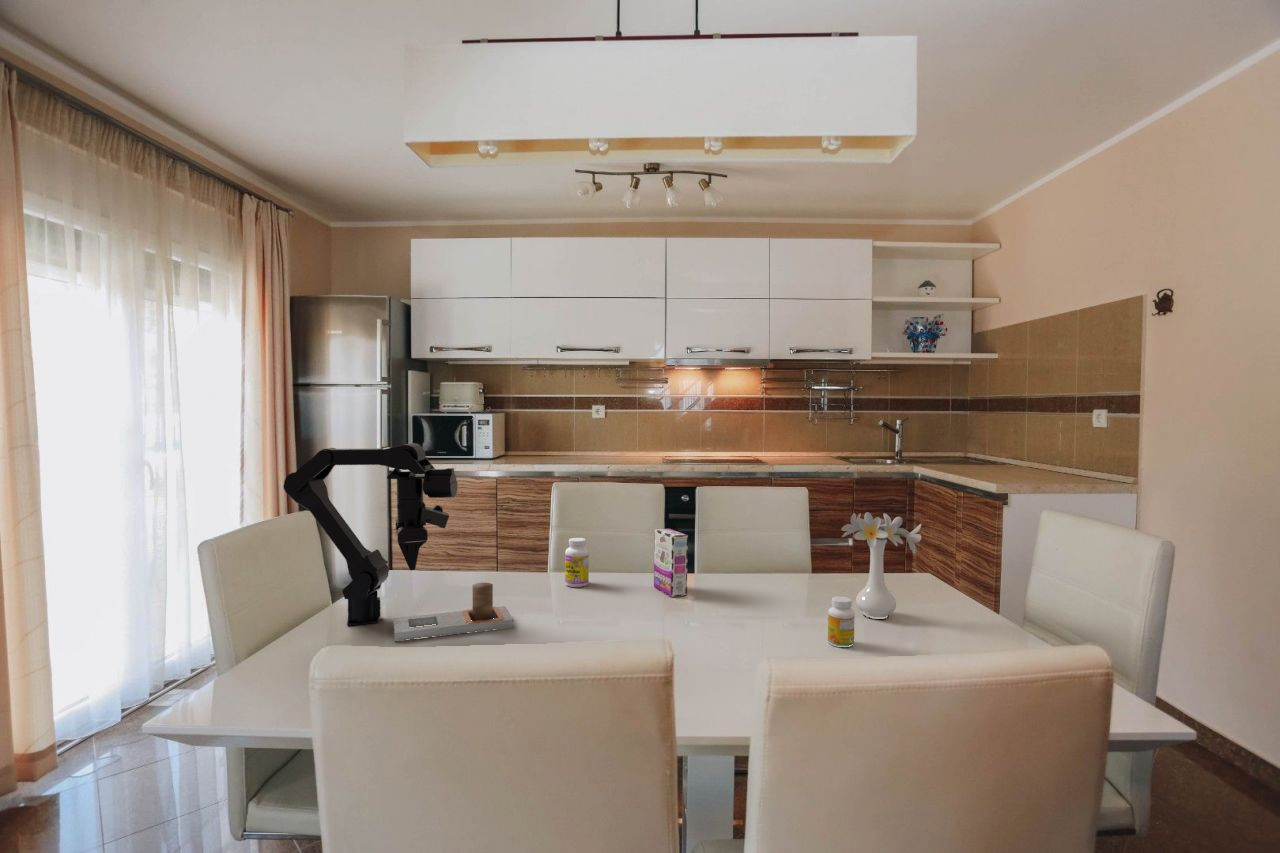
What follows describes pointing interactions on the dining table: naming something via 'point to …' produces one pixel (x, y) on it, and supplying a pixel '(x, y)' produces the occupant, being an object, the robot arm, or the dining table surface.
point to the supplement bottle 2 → (841, 622)
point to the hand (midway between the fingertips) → (411, 565)
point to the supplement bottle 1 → (576, 563)
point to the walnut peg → (482, 601)
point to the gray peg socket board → (449, 624)
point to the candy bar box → (670, 562)
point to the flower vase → (878, 559)
